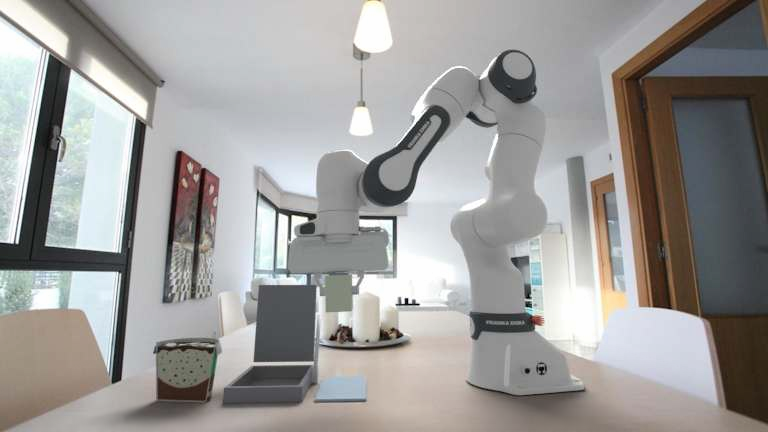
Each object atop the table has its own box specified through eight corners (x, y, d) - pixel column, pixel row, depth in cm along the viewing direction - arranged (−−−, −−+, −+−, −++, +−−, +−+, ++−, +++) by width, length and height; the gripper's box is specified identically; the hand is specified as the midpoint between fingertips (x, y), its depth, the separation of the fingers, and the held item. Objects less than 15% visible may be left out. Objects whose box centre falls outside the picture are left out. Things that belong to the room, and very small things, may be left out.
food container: (231, 392, 72) (235, 337, 74) (214, 402, 66) (218, 343, 68) (170, 390, 74) (175, 336, 75) (148, 400, 68) (153, 342, 69)
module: (352, 307, 80) (351, 272, 81) (351, 311, 73) (350, 273, 74) (328, 309, 80) (328, 273, 81) (325, 312, 73) (325, 274, 74)
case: (320, 375, 84) (322, 314, 86) (308, 401, 67) (311, 324, 69) (252, 376, 84) (255, 314, 86) (222, 403, 66) (227, 324, 68)
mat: (365, 378, 82) (365, 376, 82) (366, 400, 67) (366, 398, 67) (323, 378, 82) (323, 376, 82) (314, 401, 67) (314, 399, 67)
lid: (313, 361, 84) (314, 360, 85) (316, 284, 88) (317, 285, 89) (253, 362, 83) (255, 361, 84) (258, 284, 87) (260, 285, 88)
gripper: (387, 227, 83) (389, 292, 81) (292, 230, 82) (292, 296, 80) (389, 224, 77) (392, 294, 75) (286, 227, 75) (286, 298, 74)
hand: (339, 295), depth 77 cm, fingers closed on module, 5 cm apart
